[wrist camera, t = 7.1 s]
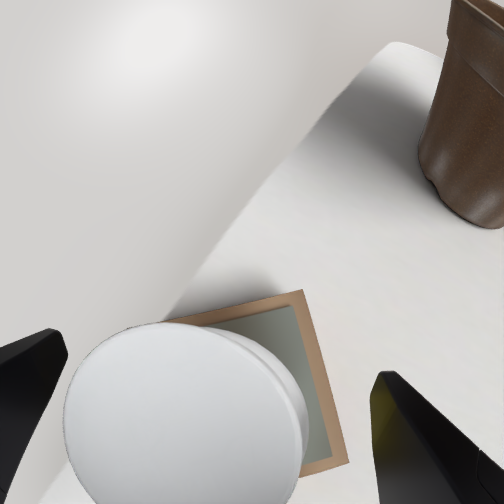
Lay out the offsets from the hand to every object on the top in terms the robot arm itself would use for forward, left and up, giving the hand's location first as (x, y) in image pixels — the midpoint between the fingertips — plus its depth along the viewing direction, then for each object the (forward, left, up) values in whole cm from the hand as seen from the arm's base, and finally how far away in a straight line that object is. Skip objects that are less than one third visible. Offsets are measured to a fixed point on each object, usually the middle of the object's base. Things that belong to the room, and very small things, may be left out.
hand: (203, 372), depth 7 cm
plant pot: (+25, +11, -11) cm, 29 cm away
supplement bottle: (0, -2, -8) cm, 8 cm away
